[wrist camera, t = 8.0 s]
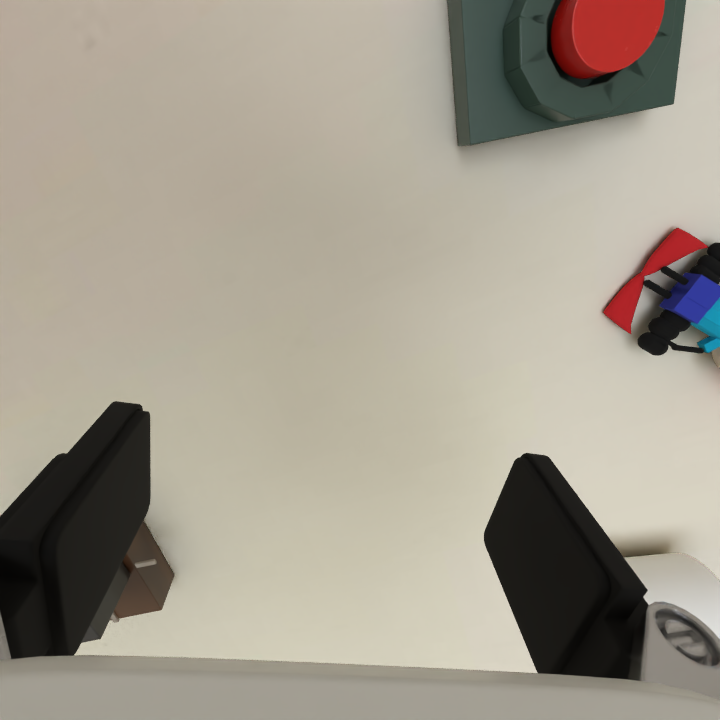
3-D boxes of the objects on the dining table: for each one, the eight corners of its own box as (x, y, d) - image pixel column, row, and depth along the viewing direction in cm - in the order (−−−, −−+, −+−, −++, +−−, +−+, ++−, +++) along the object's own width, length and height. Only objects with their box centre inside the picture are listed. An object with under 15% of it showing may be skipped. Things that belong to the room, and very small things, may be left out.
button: (549, 86, 19) (570, 80, 17) (550, -18, 17) (573, -35, 16) (631, 70, 19) (659, 62, 17) (639, -36, 17) (671, -55, 16)
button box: (457, 146, 23) (482, 144, 19) (445, -20, 20) (472, -60, 16) (643, 108, 23) (703, 99, 19) (660, -65, 20) (735, -115, 16)
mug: (558, 541, 36) (657, 704, 25) (675, 530, 37) (822, 686, 26) (544, 605, 40) (626, 772, 29) (651, 595, 40) (771, 756, 29)
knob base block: (3, 504, 31) (-29, 540, 28) (142, 475, 30) (123, 508, 28) (73, 596, 35) (50, 635, 32) (194, 571, 35) (182, 608, 32)
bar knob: (121, 559, 30) (86, 627, 25) (131, 574, 30) (99, 643, 26) (37, 576, 30) (-11, 646, 25) (49, 591, 30) (3, 662, 26)
